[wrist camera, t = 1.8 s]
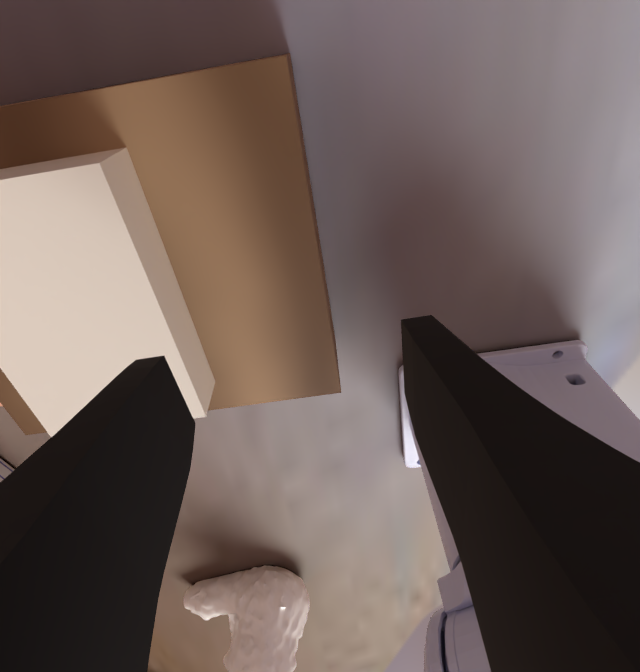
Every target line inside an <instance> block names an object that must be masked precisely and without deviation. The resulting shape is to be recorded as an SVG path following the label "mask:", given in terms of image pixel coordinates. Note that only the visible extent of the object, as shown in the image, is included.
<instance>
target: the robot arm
mask: <svg viewBox="0 0 640 672" xmlns="http://www.w3.org/2000/svg"><path fill="white" fill-rule="evenodd" d="M401 328H402V350H403V365H402V366H401V367H400V368H399V372H398V373H399V389H400V406H401V423H402V440H403V457H404V463H405V465H406V466H407V467H410V468H415V467H421V468H422V472H423V475H424V479H425V482H426V486H427V489H428V493H429V497H430V500H431V504H432V507H433V511H434V514H435V518H436V521H437V525H438V529H439V532H440V536H441V539H442V543H443V546H444V550H445V554H446V557H447V561H448V564H449V568H450V571H451V572H450V573H449V574H447V575H446V576H444V577H441V578H439V579H438V581H437V582H438V586H439V590H440V594H441V598H442V602H443V606H444V608H441V609H440V610H438V611H436V612H435V613H434V614H433V615H432V617H431V618H430V621H429V624H428V628H427V635H426V644H425V651H424V672H640V420H639V419H638V418H637V417H636V416H635V414H634V413H633V412H632V411H631V410H630V409H629V408H628V407H627V406H626V404H625V403H624V402H623V401H622V400H621V399H620V398H619V397H618V396H617V394H616V393H615V392H614V391H613V390H612V389H611V388H610V387H609V386H608V384H607V383H606V382H605V381H604V380H603V379H602V378H601V377H600V376H599V374H598V373H597V372H596V371H595V370H594V369H593V368H592V367H591V366H590V364H589V363H588V362H587V361H586V360H585V359H586V355H587V351H588V347H587V345H586V344H585V343H584V342H583V341H581V340H573V341H566V342H558V343H551V344H544V345H537V346H529V347H522V348H515V349H508V350H500V351H493V352H486V353H479V354H476V353H475V352H474V351H473V350H471V349H470V348H469V347H468V346H467V345H466V344H464V343H463V342H462V341H461V340H460V339H459V338H457V337H456V336H455V335H454V334H453V333H452V332H450V331H449V330H448V329H447V328H446V327H445V326H444V325H442V324H441V323H440V322H439V321H438V320H437V319H435V318H434V317H433V316H432V315H430V316H423V317H416V318H410V319H403V320H401ZM556 351H558V352H557V353H555V352H556ZM553 353H555V354H553ZM194 433H195V421H194V419H193V417H192V415H191V413H190V411H189V408H188V406H187V404H186V402H185V400H184V398H183V395H182V393H181V391H180V389H179V387H178V385H177V382H176V380H175V378H174V376H173V374H172V372H171V369H170V367H169V365H168V363H167V361H166V358H165V356H158V357H151V358H144V359H138V360H135V361H134V362H133V363H131V364H130V365H129V366H128V367H126V368H125V369H124V370H123V371H122V372H121V373H120V374H119V375H117V376H116V377H115V378H114V379H113V380H112V381H111V382H110V383H109V384H108V385H107V386H106V387H105V388H104V389H102V390H101V391H100V392H99V393H98V394H97V395H96V396H95V397H94V398H93V399H92V400H91V401H90V402H89V403H88V404H87V405H86V406H85V407H83V408H82V409H81V410H80V411H79V412H78V413H77V414H76V415H75V416H74V417H73V418H72V419H71V420H70V421H69V422H68V423H66V424H65V425H64V426H63V427H62V428H61V429H60V430H59V431H58V432H57V433H56V434H55V435H54V436H53V437H51V438H50V439H49V440H48V441H47V442H46V443H45V444H43V445H42V446H41V447H40V448H39V449H38V450H37V451H35V452H34V453H33V454H32V455H31V456H30V457H29V458H28V459H26V460H25V461H24V462H23V463H22V464H21V465H20V466H18V467H17V468H16V469H15V470H14V471H13V472H12V473H10V474H9V475H8V476H7V477H6V478H5V479H4V480H2V481H1V482H0V672H147V669H148V661H149V654H150V647H151V641H152V634H153V628H154V622H155V615H156V609H157V603H158V597H159V592H160V588H161V583H162V578H163V574H164V570H165V566H166V562H167V558H168V554H169V550H170V546H171V542H172V539H173V535H174V531H175V527H176V523H177V519H178V515H179V511H180V508H181V504H182V500H183V496H184V492H185V488H186V484H187V480H188V475H189V471H190V467H191V459H192V452H193V443H194Z"/></svg>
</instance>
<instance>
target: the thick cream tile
mask: <svg viewBox="0 0 640 672" xmlns="http://www.w3.org/2000/svg"><path fill="white" fill-rule="evenodd" d="M158 356H165V358H166V361H167V363H168V365H169V367H170V369H171V372H172V374H173V376H174V378H175V380H176V382H177V385H178V387H179V389H180V391H181V393H182V395H183V398H184V400H185V402H186V404H187V406H188V408H189V411H190V413H191V415H192V417H193V418H201V417H206V415H207V411H208V408H209V404H210V400H211V396H212V392H213V389H214V385H215V379H214V377H213V374H212V372H211V369H210V366H209V364H208V361H207V358H206V356H205V353H204V350H203V348H202V345H201V343H200V340H199V337H198V335H197V332H196V329H195V327H194V324H193V321H192V319H191V316H190V314H189V311H188V308H187V306H186V303H185V300H184V298H183V295H182V292H181V290H180V287H179V285H178V282H177V279H176V277H175V274H174V271H173V269H172V266H171V263H170V261H169V258H168V256H167V253H166V250H165V248H164V245H163V242H162V240H161V237H160V234H159V232H158V229H157V227H156V224H155V221H154V219H153V216H152V213H151V211H150V208H149V205H148V203H147V200H146V197H145V195H144V192H143V190H142V187H141V184H140V182H139V179H138V176H137V174H136V171H135V168H134V166H133V163H132V161H131V158H130V155H129V153H128V150H127V147H126V148H120V149H114V150H108V151H102V152H97V153H91V154H85V155H79V156H74V157H68V158H62V159H56V160H50V161H45V162H39V163H33V164H27V165H22V166H16V167H10V168H4V169H0V368H1V370H2V371H3V372H4V374H5V375H6V377H7V378H8V379H9V381H10V382H11V383H12V385H13V386H14V387H15V389H16V390H17V391H18V393H19V394H20V396H21V397H22V398H23V400H24V401H25V402H26V404H27V405H28V406H29V408H30V409H31V410H32V412H33V413H34V415H35V416H36V417H37V419H38V420H39V421H40V423H41V424H42V425H43V427H44V428H45V430H46V431H47V432H48V434H49V435H50V436H51V437H53V436H54V435H55V434H56V433H57V432H58V431H59V430H60V429H61V428H62V427H63V426H64V425H65V424H66V423H68V422H69V421H70V420H71V419H72V418H73V417H74V416H75V415H76V414H77V413H78V412H79V411H80V410H81V409H82V408H83V407H85V406H86V405H87V404H88V403H89V402H90V401H91V400H92V399H93V398H94V397H95V396H96V395H97V394H98V393H99V392H100V391H101V390H102V389H104V388H105V387H106V386H107V385H108V384H109V383H110V382H111V381H112V380H113V379H114V378H115V377H116V376H117V375H119V374H120V373H121V372H122V371H123V370H124V369H125V368H126V367H128V366H129V365H130V364H131V363H133V362H134V361H135V360H138V359H144V358H151V357H158Z"/></svg>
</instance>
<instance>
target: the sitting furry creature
mask: <svg viewBox="0 0 640 672" xmlns="http://www.w3.org/2000/svg"><path fill="white" fill-rule="evenodd" d="M309 604H310V601H309V594H308V591H307V590H306V586H305V584H304V583H303V579H301V578H300V577H298V576H297V575H296V574H294V573H293V572H291V571H289V570H287V569H285V568H281V567H278V566H275V567H273V566H269V565H268V566H266V565H264V566H262V567H253V568H252V569H251V570H244V571H239V572H235V573H232V574H228V575H223V576H219V577H215V578H211V579H206V580H202V581H199V582H196V583H195V585H193V586H191V587H189V588H188V589H187V591H186V593H185V595H184V607H185V608H186V609H189V610H191V612H192V613H195V614H197V615H200V616H201V617H202V618H203V619H204V620H209V619H210V618H212V617H218V616H219V615H226V614H228V616H229V623H230V631H231V633H232V635H231V639H232V642H231V647H230V649H229V651H228V653H227V654H226V655H225V656H224V659H223V663H224V665H225V667H226V668H227V670H228V672H293V671H294V669H295V668H296V659H295V653H296V651H297V649H298V639H300V638H301V637H302V635H303V630H304V625H305V623H306V621H307V614H308V611H309V609H310V607H309Z"/></svg>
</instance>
